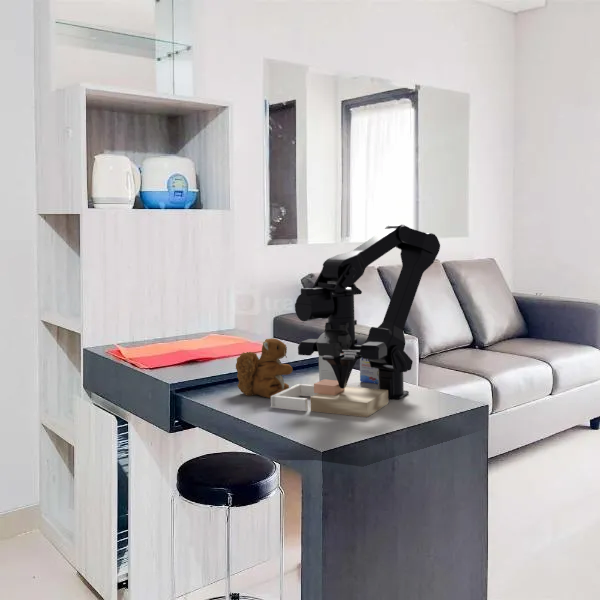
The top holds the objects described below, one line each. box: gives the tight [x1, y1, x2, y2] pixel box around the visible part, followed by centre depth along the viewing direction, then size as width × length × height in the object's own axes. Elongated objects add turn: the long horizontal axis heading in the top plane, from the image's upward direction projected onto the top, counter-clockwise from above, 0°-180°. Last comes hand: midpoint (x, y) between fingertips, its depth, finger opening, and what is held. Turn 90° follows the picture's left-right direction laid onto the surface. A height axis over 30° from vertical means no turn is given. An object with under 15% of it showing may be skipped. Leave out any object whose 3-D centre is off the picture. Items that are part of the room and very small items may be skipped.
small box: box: [318, 353, 344, 382], centre depth 176 cm, size 8×6×10 cm
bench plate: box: [309, 385, 389, 418], centre depth 157 cm, size 12×13×3 cm
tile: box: [313, 379, 345, 395], centre depth 159 cm, size 5×5×2 cm
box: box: [270, 383, 318, 412], centre depth 163 cm, size 13×8×2 cm, turn 152°
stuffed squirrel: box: [235, 337, 293, 399], centre depth 171 cm, size 10×14×13 cm
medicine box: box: [359, 358, 378, 385], centre depth 180 cm, size 8×4×9 cm, turn 56°
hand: (342, 388), depth 158 cm, fingers closed
